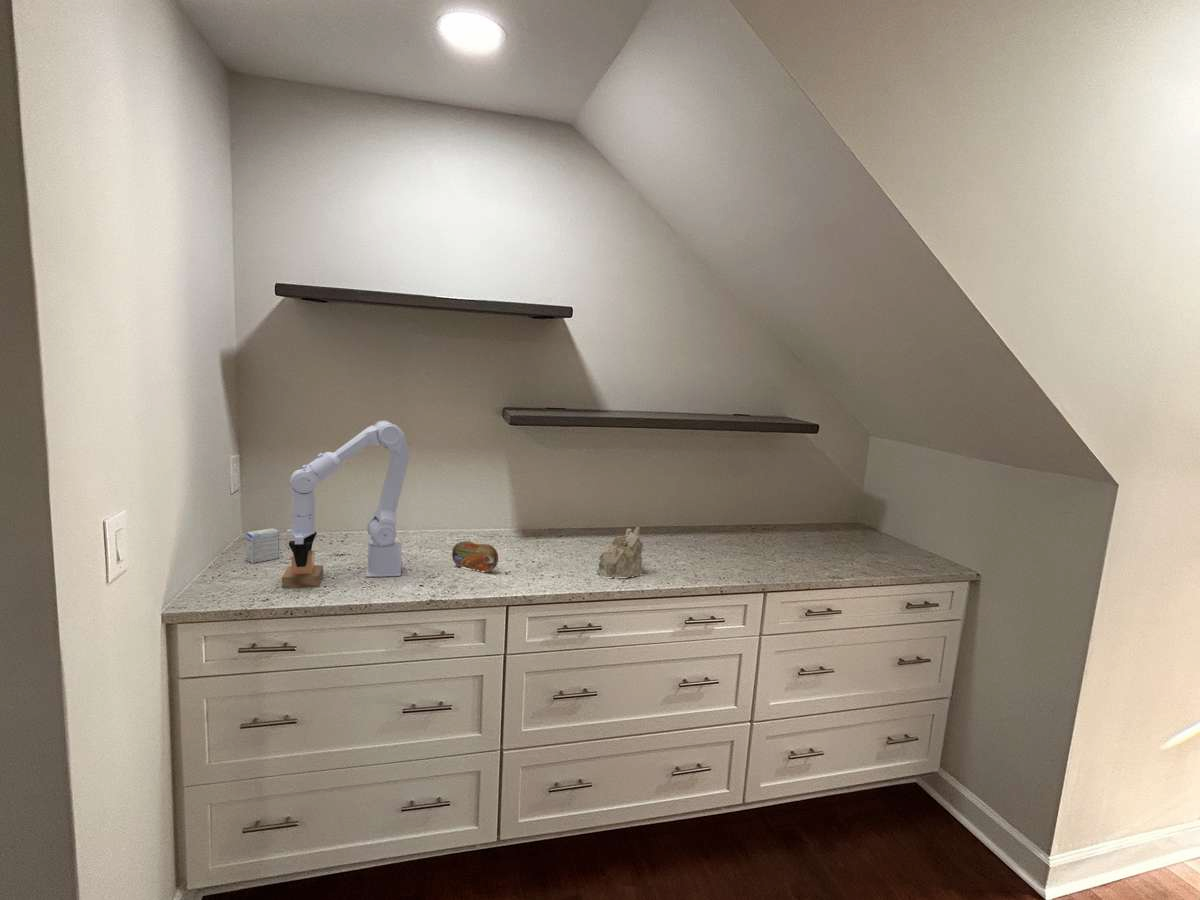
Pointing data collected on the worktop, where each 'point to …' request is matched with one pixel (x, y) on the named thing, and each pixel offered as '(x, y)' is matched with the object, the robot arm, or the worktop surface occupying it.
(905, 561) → the worktop surface
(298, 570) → the terracotta cube
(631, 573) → the ceramic cottage
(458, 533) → the worktop surface
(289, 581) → the walnut block
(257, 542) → the medicine box
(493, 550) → the tin
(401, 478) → the robot arm
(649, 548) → the worktop surface
